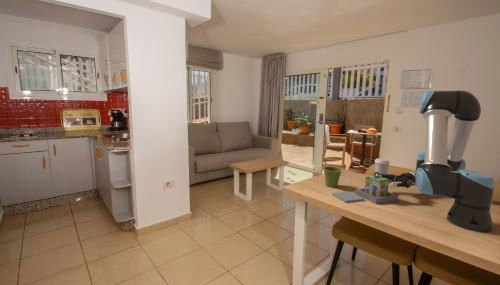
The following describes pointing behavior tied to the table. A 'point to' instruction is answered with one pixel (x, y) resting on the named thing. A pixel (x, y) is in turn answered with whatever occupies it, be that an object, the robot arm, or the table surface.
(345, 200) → the pad
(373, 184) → the chalk box
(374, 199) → the collar
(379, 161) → the coffee cup
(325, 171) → the plant pot
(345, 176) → the table surface
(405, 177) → the robot arm
